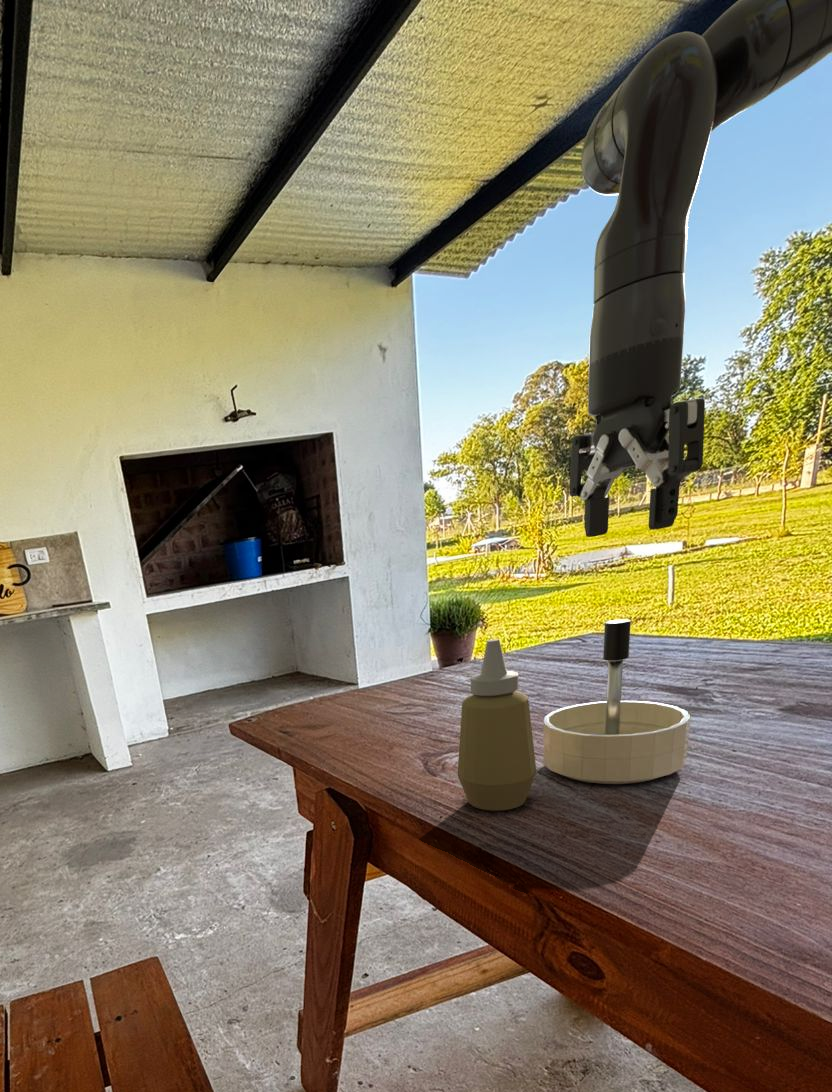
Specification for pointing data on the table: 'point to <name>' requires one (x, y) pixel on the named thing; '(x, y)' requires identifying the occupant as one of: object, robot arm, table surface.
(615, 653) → the rod on round base
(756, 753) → the table surface
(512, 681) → the squeeze bottle
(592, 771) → the bowl
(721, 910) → the table surface
